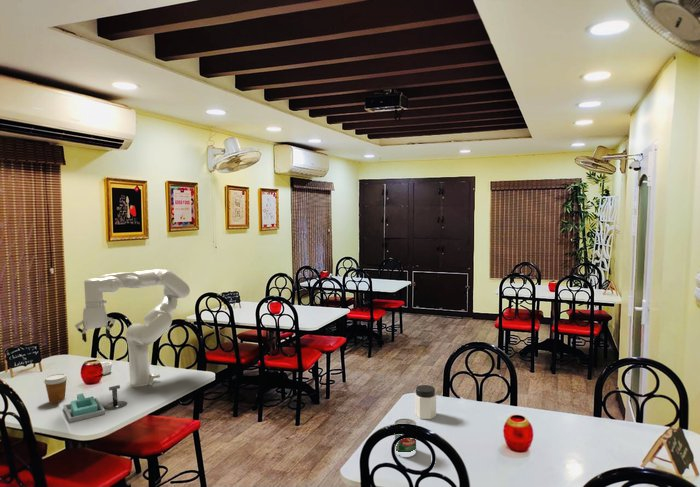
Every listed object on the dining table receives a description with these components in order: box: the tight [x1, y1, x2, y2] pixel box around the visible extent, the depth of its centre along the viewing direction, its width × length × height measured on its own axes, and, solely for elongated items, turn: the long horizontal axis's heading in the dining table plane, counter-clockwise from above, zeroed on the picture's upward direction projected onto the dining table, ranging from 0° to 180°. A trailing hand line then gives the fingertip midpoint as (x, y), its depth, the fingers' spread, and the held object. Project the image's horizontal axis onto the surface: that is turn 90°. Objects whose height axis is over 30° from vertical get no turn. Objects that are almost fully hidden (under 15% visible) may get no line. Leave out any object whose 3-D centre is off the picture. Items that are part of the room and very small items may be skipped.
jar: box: [414, 384, 437, 420], centre depth 211 cm, size 9×8×12 cm
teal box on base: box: [70, 393, 99, 417], centre depth 219 cm, size 9×14×4 cm, turn 38°
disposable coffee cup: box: [43, 373, 68, 405], centre depth 233 cm, size 10×10×12 cm
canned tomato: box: [394, 418, 417, 452], centre depth 181 cm, size 8×8×11 cm
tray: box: [63, 397, 106, 424], centre depth 218 cm, size 14×18×3 cm
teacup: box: [100, 361, 113, 376], centre depth 271 cm, size 10×8×5 cm
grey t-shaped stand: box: [103, 384, 128, 411], centre depth 225 cm, size 10×10×10 cm
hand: (96, 339), depth 236 cm, fingers open, 9 cm apart
